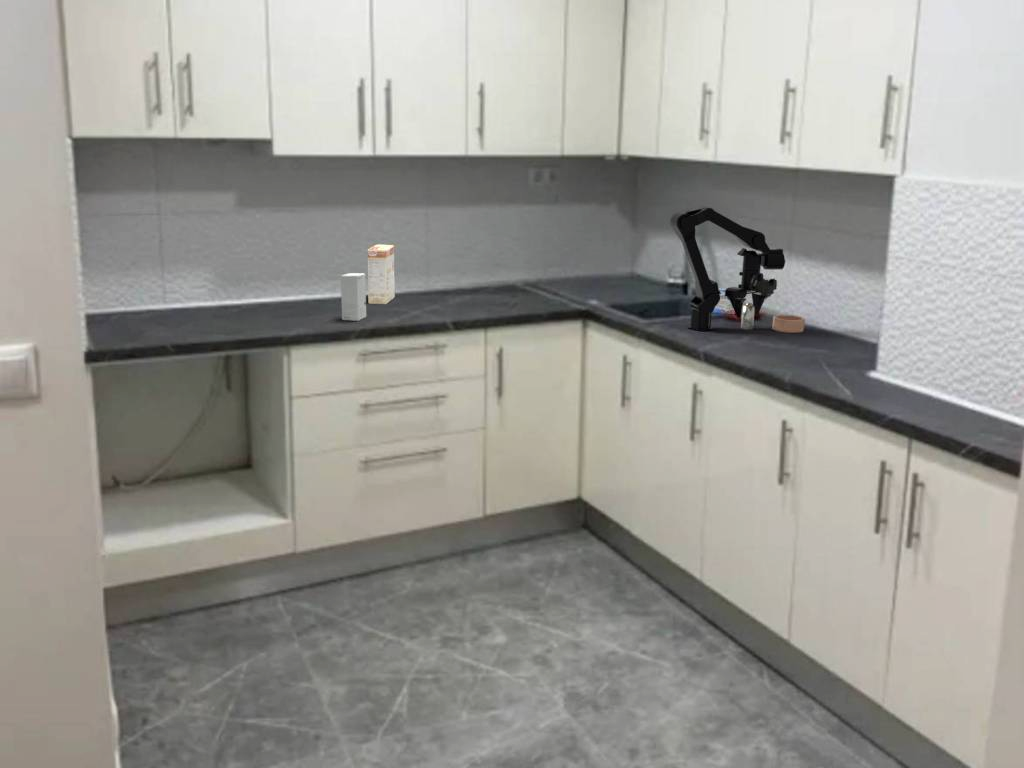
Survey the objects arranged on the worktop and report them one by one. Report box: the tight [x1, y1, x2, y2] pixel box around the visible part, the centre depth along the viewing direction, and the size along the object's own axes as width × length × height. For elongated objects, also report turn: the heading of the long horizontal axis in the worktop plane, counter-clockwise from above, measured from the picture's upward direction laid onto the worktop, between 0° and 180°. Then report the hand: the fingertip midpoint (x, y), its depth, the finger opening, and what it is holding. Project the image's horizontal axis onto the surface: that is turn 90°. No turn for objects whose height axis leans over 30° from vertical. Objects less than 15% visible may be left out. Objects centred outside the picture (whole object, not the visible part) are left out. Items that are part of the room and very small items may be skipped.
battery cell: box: [740, 302, 755, 331], centre depth 342 cm, size 4×4×8 cm
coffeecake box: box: [367, 243, 396, 305], centre depth 376 cm, size 15×7×20 cm, turn 175°
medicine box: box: [712, 287, 734, 315], centre depth 368 cm, size 8×4×9 cm, turn 62°
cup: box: [771, 314, 806, 334], centre depth 342 cm, size 10×10×4 cm
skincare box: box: [340, 272, 367, 322], centre depth 342 cm, size 8×6×15 cm
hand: (747, 316), depth 342 cm, fingers open, 9 cm apart
